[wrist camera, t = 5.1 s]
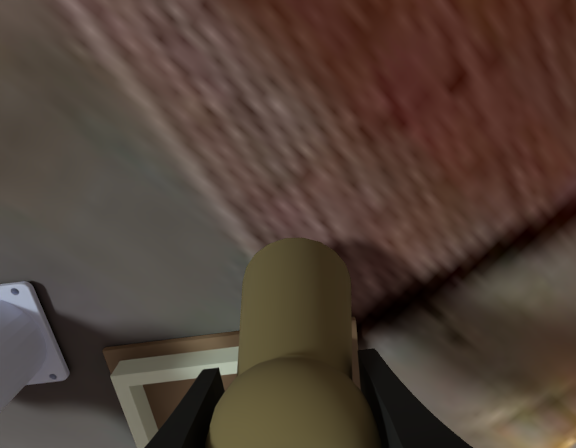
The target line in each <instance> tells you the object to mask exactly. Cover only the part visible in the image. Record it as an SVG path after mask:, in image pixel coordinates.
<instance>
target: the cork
mask: <svg viewBox="0 0 576 448" xmlns="http://www.w3.org/2000/svg"><path fill="white" fill-rule="evenodd" d="M381 446H382V442H381V438H380V434H379V431H378V427H377V423H376V421H375V418H374V416H373V413H372V411H371V408H370V406H369V404H368V402H367V400H366V398H365V396H364V395H363V393H362V391H361V390H360V389H359V388H358V387H357V386H356V385H355V383H354V382H353V381H352V320H351V278H350V275H349V272H348V270H347V267H346V264H345V263H344V262H343V260H342V259H341V258H340V257H339V256H338V254H337V253H336V252H335V251H334V250H332V249H330V248H329V247H327V246H326V245H324V244H322V243H321V242H317V241H313V240H310V239H306V238H285V239H282V240H279V241H276V242H273V243H271V244H268V245H267V246H266V247H264V248H263V249H262V250H260V251H259V252H257V253H256V254H255V255H254V257H253V258H252V260H251V261H250V263H249V264H248V266H247V267H246V271H245V275H244V279H243V285H242V301H241V317H240V333H239V349H238V365H237V377H236V378H235V379H234V380H233V382H232V383H231V384H230V386H229V387H228V388H227V389H226V391H225V392H224V394H223V395H222V397H221V398H220V400H219V402H218V403H217V405H216V406H215V410H214V413H213V416H212V420H211V423H210V427H209V431H208V434H207V438H206V442H205V448H381Z"/></svg>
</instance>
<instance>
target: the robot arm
mask: <svg viewBox="0 0 576 448" xmlns="http://www.w3.org/2000/svg"><path fill="white" fill-rule="evenodd" d="M15 288H16V289H18V291H19V292H18V291H16V289H15ZM357 352H358V363H359V375H360V387H361V391H362V393H363V395H364V396H365V398H366V400H367V402H368V404H369V406H370V408H371V411H372V413H373V416H374V418H375V421H376V423H377V427H378V431H379V434H380V438H381V442H382V446H381V448H473V447H471V446H470V445H469V444H467V443H466V442H465V441H464V440H462V439H461V438H460V437H459V436H457V435H456V434H455V433H454V432H452V431H451V430H450V429H449V428H448V427H447V426H445V425H444V424H443V423H442V422H441V421H440V420H439V419H438V418H436V417H435V416H434V415H433V414H432V413H431V412H430V411H429V410H428V409H427V408H426V407H425V406H424V405H423V404H422V403H421V402H420V401H419V400H418V399H417V398H416V397H415V396H414V395H413V394H412V393H411V392H410V391H409V390H408V389H407V387H406V386H405V385H404V384H403V383H402V382H401V381H400V380H399V379H398V377H397V376H396V375H395V374H394V373H393V371H392V370H391V369H390V368H389V367H388V365H387V364H386V363H385V361H384V360H383V359H382V357H381V356H380V355H379V353H378V352H377V351H376V350H375V349H366V350H358V351H357ZM54 374H55V375H54ZM69 374H70V372H69V369H68V367H67V365H66V362H65V360H64V358H63V355H62V353H61V351H60V348H59V346H58V344H57V341H56V339H55V337H54V334H53V332H52V330H51V327H50V325H49V323H48V320H47V318H46V315H45V313H44V311H43V308H42V306H41V304H40V301H39V299H38V297H37V294H36V292H35V290H34V287H33V286H32V284H30V283H29V282H25V281H23V282H15V283H7V284H0V412H1V411H2V410H3V409H4V408H5V407H6V406H7V405H8V403H9V402H10V401H11V400H12V399H13V398H14V397H15V396H16V395H17V394H18V393H19V392H20V390H21V389H22V388H23V387H24V386H25V385H32V384H40V383H48V382H57V381H63V380H66V379H67V377H68V376H69ZM224 392H225V390H224V386H223V382H222V378H221V374H220V370H219V367H218V368H210V369H203V370H202V371H201V373H200V374H199V375H198V377H197V378H196V380H195V381H194V383H193V384H192V386H191V387H190V388H189V390H188V391H187V393H186V394H185V396H184V397H183V398H182V400H181V401H180V403H179V404H178V405H177V407H176V408H175V409H174V411H173V412H172V414H171V415H170V416H169V418H168V419H167V420H166V422H165V423H164V424H163V425H162V427H161V428H160V429H159V430H158V432H157V433H156V434H155V435H154V437H153V438H152V439H151V440H150V441H149V443H148V444H147V445H146V446H145V447H144V448H205V442H206V438H207V434H208V431H209V427H210V423H211V420H212V416H213V413H214V410H215V406H216V405H217V403H218V402H219V400H220V398H221V397H222V395H223V394H224Z"/></svg>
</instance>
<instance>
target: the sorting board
mask: <svg viewBox="0 0 576 448" xmlns="http://www.w3.org/2000/svg"><path fill="white" fill-rule="evenodd" d="M351 320H352V381H353V382H354V383H355V385H356V386H357V387H358V388H359V389H360V390H361V387H360V375H359V363H358V352H357V351H358V341H357V329H356V319H355V317H351ZM239 333H240V331H234V332H225V333H217V334H209V335H201V336H193V337H185V338H177V339H169V340H160V341H152V342H144V343H136V344H128V345H120V346H112V347H105V348H104V349H103V351H102V352H103V355H104V357H105V360H106V363H107V365H108V368H109V371H110V373H111V374H112V373H113V371H114V369H115V368H116V366H117V365H118V363H119V362H120V361H123V360H131V359H139V358H147V357H156V356H164V355H172V354H180V353H189V352H197V351H205V350H213V349H221V348H230V347H238V346H239ZM236 377H237V373H236V374H228V375H221V378H222V382H223V386H224V390H225V391H226V389H227V388H228V387H229V386H230V384H231V383H232V382H233V380H234V379H235V378H236ZM195 380H196V378H194V379H186V380H178V381H169V382H161V383H153V384H144V385H143V388H144V391H145V393H146V396H147V399H148V402H149V405H150V408H151V411H152V414H153V417H154V420H155V422H156V425H157V428H158V430H159V429H160V428H161V427H162V425H163V424H164V423H165V422H166V420H167V419H168V418H169V416H170V415H171V414H172V412H173V411H174V409H175V408H176V407H177V405H178V404H179V403H180V401H181V400H182V398H183V397H184V396H185V394H186V393H187V391H188V390H189V388H190V387H191V386H192V384H193V383H194V381H195Z"/></svg>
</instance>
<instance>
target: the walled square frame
mask: <svg viewBox="0 0 576 448" xmlns="http://www.w3.org/2000/svg"><path fill="white" fill-rule="evenodd" d="M238 349H239V346H238V347H230V348H221V349H213V350H205V351H197V352H189V353H180V354H172V355H164V356H156V357H147V358H139V359H131V360H123V361H120V362H119V363H118V365H117V366H116V368H115V369H114V371H113V373H112V374H111V376H110V378H111V380H112V383H113V386H114V388H115V391H116V394H117V396H118V399H119V401H120V404H121V407H122V409H123V412H124V415H125V417H126V420H127V422H128V425H129V428H130V430H131V433H132V436H133V438H134V441H135V444H136V446H137V448H144V447H145V446H146V445H147V444H148V443H149V441H150V440H151V439H152V438H153V437H154V435H155V434H156V433H157V432H158V428H157V425H156V422H155V420H154V417H153V414H152V411H151V408H150V405H149V402H148V399H147V396H146V393H145V391H144V388H143V385H144V384H153V383H161V382H169V381H178V380H186V379H194V378H197V377H198V375H199V374H200V373H201V371H202V370H203V369H210V368H218V367H219V370H220V374H221V375H228V374H236V373H237V365H238Z"/></svg>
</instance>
